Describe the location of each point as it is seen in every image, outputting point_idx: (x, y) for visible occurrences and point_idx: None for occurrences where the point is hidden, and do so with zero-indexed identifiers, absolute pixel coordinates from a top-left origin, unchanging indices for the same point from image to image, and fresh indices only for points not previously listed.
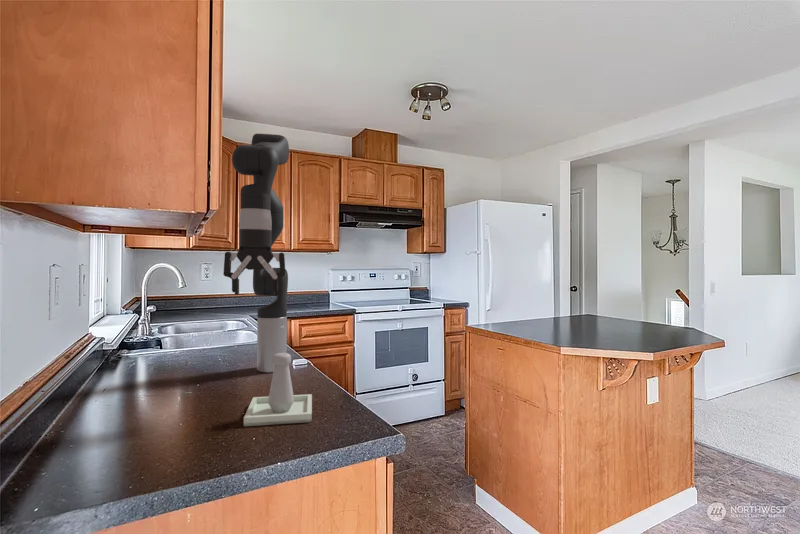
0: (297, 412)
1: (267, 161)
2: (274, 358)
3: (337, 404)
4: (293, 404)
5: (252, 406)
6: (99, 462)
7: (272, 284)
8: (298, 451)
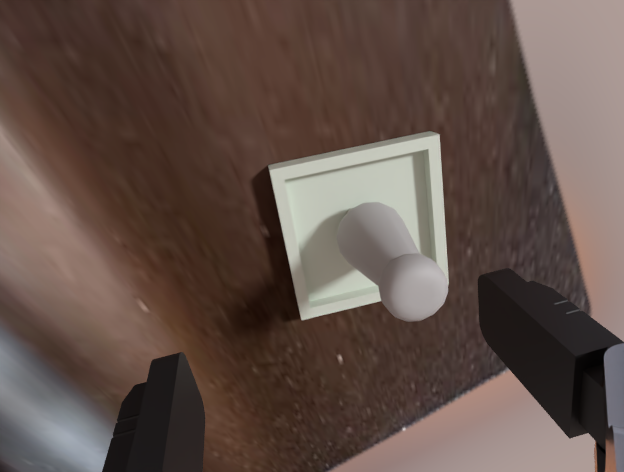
0: None
1: None
2: (396, 317)
3: (498, 155)
4: (388, 183)
5: (295, 247)
6: None
7: (542, 395)
8: (428, 394)
